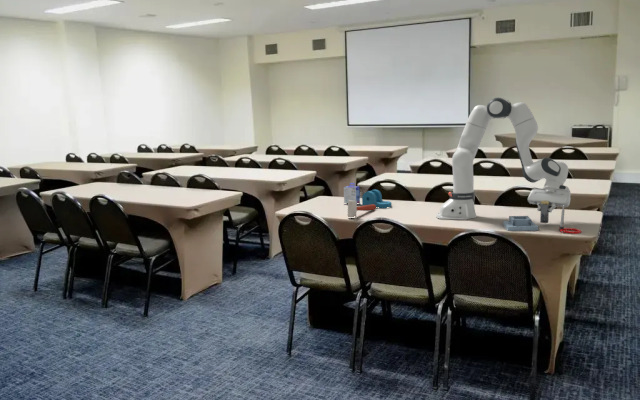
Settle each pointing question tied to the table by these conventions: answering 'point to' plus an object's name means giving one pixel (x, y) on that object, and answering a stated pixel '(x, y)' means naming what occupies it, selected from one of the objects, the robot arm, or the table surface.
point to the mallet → (358, 208)
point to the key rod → (544, 212)
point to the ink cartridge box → (351, 193)
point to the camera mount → (375, 199)
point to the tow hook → (564, 230)
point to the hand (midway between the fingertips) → (544, 211)
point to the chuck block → (520, 224)
